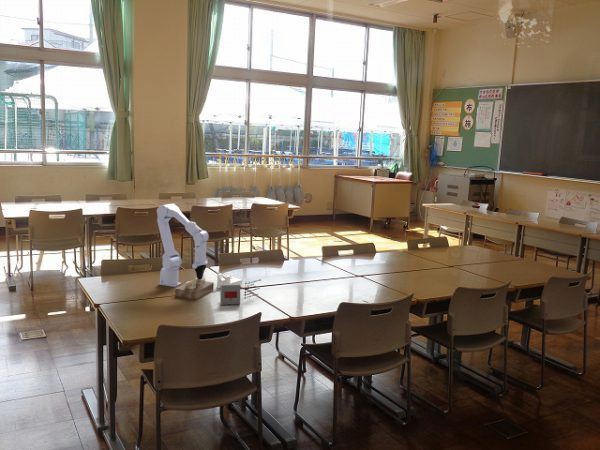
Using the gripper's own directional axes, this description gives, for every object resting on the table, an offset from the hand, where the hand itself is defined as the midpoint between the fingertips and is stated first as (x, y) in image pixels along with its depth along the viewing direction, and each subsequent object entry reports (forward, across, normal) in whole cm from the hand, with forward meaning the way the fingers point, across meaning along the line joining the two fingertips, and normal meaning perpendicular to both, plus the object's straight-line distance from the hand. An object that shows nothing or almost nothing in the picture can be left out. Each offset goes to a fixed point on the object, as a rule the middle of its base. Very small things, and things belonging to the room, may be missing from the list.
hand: (199, 278), depth 297 cm
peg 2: (+4, 0, 0) cm, 4 cm away
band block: (+6, -5, 0) cm, 8 cm away
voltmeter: (+7, -6, -26) cm, 28 cm away
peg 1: (+3, -10, 0) cm, 11 cm away
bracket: (+7, +16, -11) cm, 20 cm away
